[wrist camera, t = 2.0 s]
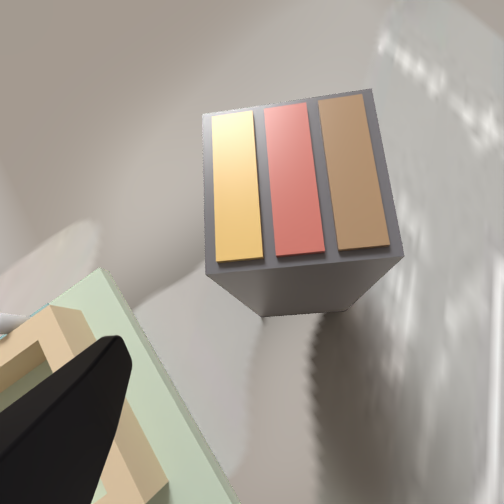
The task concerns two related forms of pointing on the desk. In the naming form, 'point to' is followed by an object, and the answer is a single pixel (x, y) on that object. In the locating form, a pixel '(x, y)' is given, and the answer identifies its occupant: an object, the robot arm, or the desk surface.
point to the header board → (135, 404)
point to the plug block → (298, 203)
